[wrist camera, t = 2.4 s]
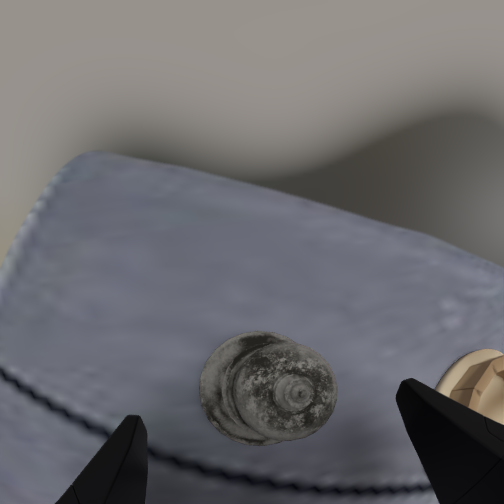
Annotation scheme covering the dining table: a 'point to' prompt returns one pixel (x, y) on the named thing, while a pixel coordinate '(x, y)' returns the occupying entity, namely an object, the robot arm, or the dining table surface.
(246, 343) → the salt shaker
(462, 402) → the dish
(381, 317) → the dining table surface
